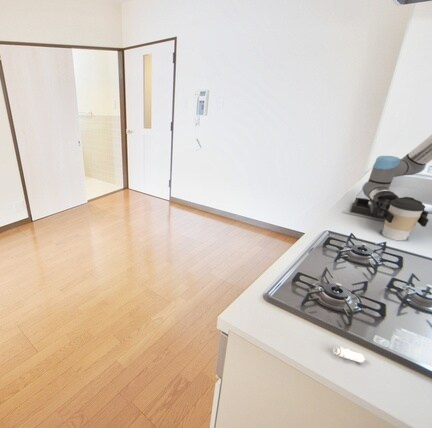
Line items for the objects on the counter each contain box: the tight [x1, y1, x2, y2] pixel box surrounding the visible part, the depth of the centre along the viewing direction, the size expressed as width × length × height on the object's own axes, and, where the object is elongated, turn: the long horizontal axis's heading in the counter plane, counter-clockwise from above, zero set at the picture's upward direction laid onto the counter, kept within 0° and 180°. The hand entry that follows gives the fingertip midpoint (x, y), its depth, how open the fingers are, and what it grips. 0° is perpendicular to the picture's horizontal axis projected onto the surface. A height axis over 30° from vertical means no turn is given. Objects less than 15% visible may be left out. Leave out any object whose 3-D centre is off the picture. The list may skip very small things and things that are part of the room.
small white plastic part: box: [332, 346, 366, 363], centre depth 62 cm, size 4×6×3 cm, turn 49°
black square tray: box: [350, 196, 385, 220], centre depth 127 cm, size 13×13×3 cm
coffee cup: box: [381, 196, 426, 241], centre depth 104 cm, size 9×9×15 cm
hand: (408, 221), depth 100 cm, fingers closed on coffee cup, 9 cm apart
